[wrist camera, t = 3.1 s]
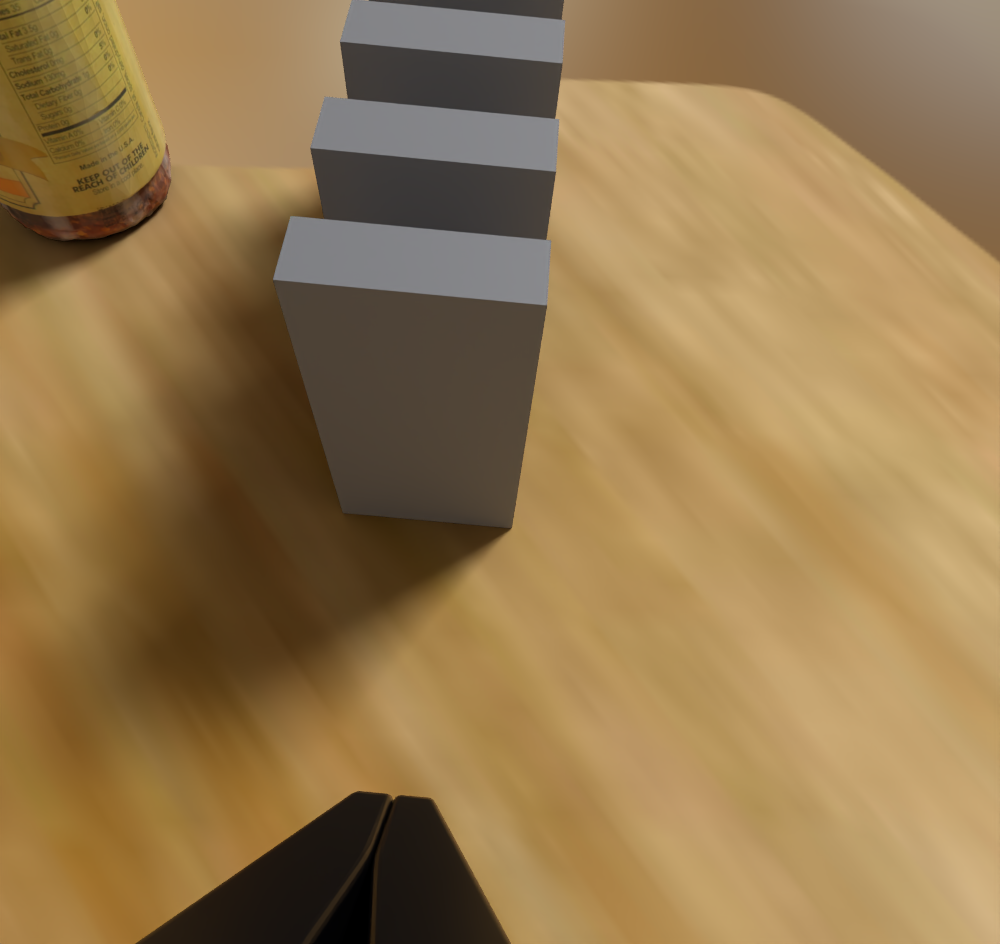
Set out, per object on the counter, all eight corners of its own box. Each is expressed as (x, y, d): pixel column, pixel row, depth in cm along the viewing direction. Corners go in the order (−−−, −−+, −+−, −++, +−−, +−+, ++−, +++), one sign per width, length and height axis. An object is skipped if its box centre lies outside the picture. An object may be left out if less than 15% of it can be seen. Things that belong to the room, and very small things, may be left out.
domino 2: (519, 427, 25) (556, 171, 16) (361, 412, 25) (310, 147, 16) (522, 385, 25) (559, 118, 17) (369, 371, 25) (324, 96, 17)
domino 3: (511, 528, 23) (546, 305, 14) (342, 512, 23) (272, 279, 14) (515, 480, 24) (551, 240, 15) (351, 465, 24) (290, 216, 15)
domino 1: (525, 339, 26) (562, 63, 17) (378, 325, 26) (340, 41, 17) (528, 302, 27) (564, 20, 18) (385, 288, 27) (351, -2, 18)
